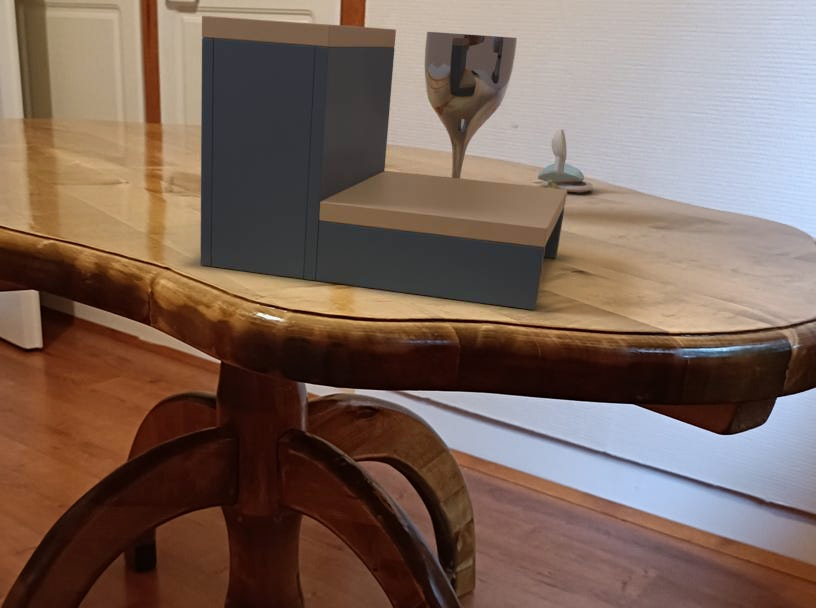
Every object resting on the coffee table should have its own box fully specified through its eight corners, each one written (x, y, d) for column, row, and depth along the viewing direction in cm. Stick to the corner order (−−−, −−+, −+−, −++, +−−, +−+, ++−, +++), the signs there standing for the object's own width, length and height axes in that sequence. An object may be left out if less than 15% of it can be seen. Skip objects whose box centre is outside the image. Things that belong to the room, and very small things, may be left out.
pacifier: (594, 189, 109) (541, 182, 111) (606, 132, 107) (552, 125, 108) (588, 198, 103) (533, 190, 104) (601, 137, 100) (543, 130, 102)
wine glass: (494, 219, 86) (518, 37, 80) (406, 211, 87) (423, 31, 81) (495, 205, 93) (516, 38, 87) (413, 198, 94) (429, 32, 88)
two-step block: (556, 256, 73) (590, 43, 67) (534, 310, 58) (576, 41, 52) (284, 223, 78) (292, 22, 72) (200, 265, 63) (201, 15, 57)
